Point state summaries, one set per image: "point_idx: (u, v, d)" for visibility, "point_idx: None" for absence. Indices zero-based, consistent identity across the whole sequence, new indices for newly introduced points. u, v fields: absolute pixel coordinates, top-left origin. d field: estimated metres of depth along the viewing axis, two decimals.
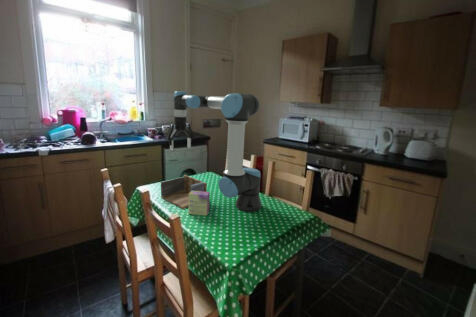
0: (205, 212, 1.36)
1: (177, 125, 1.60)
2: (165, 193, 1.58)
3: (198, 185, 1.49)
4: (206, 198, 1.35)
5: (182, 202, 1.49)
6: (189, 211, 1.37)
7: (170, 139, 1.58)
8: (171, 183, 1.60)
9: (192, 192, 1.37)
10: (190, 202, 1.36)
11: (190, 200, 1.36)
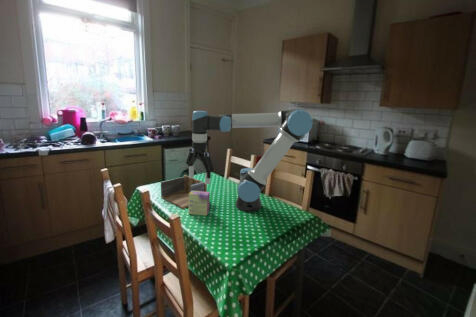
0: (205, 212, 1.36)
1: (194, 151, 1.33)
2: (165, 193, 1.58)
3: (198, 185, 1.49)
4: (206, 198, 1.35)
5: (182, 202, 1.49)
6: (189, 211, 1.37)
7: (188, 164, 1.38)
8: (171, 183, 1.60)
9: (192, 192, 1.37)
10: (190, 202, 1.36)
11: (190, 200, 1.36)
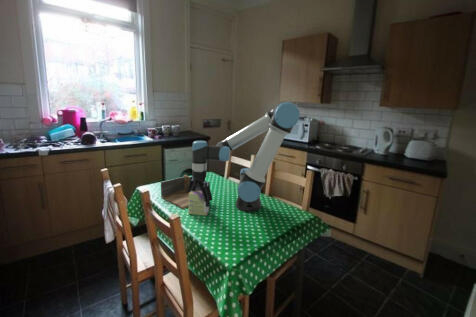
0: (205, 212, 1.36)
1: (194, 179, 1.37)
2: (165, 193, 1.58)
3: None
4: None
5: (182, 202, 1.49)
6: (189, 211, 1.37)
7: None
8: (171, 183, 1.60)
9: (192, 192, 1.37)
10: (190, 202, 1.36)
11: (190, 200, 1.36)
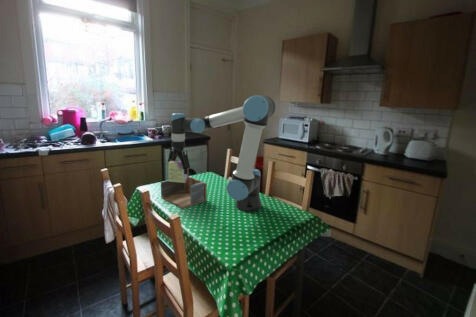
0: None
1: (173, 149, 1.48)
2: (165, 193, 1.58)
3: (198, 185, 1.49)
4: None
5: (182, 202, 1.49)
6: (169, 179, 1.49)
7: None
8: (171, 183, 1.60)
9: (172, 161, 1.49)
10: (169, 170, 1.48)
11: (170, 168, 1.47)
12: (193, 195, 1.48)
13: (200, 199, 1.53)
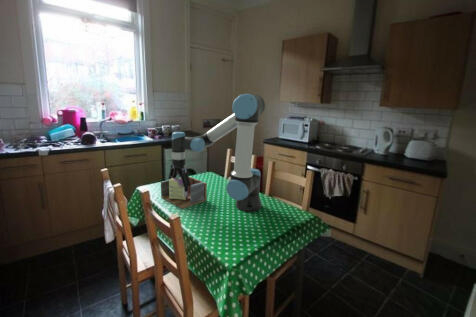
0: (184, 197, 1.51)
1: (174, 166, 1.51)
2: (165, 193, 1.58)
3: (198, 185, 1.49)
4: None
5: (182, 202, 1.49)
6: (170, 196, 1.51)
7: None
8: None
9: (172, 178, 1.51)
10: (170, 187, 1.50)
11: (170, 186, 1.50)
12: (193, 195, 1.48)
13: (200, 199, 1.53)
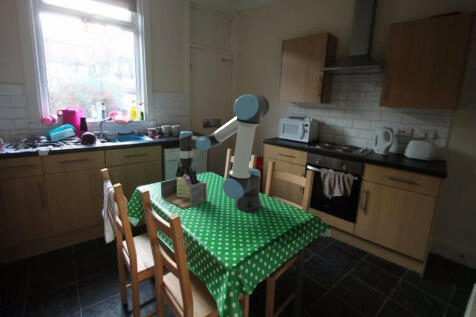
0: None
1: (181, 165, 1.55)
2: (165, 193, 1.58)
3: (198, 185, 1.49)
4: None
5: (182, 202, 1.49)
6: (177, 194, 1.56)
7: (177, 176, 1.60)
8: (171, 183, 1.60)
9: (180, 177, 1.56)
10: (178, 186, 1.54)
11: (178, 184, 1.54)
12: (193, 195, 1.48)
13: (200, 199, 1.53)
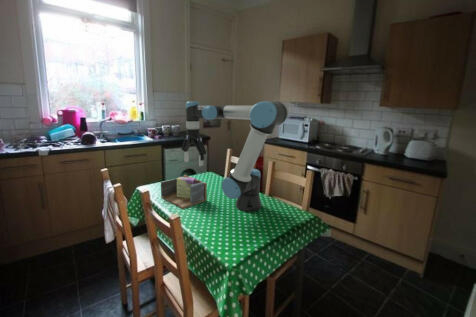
0: None
1: (188, 137, 1.51)
2: (165, 193, 1.58)
3: (198, 185, 1.49)
4: (192, 183, 1.53)
5: (182, 202, 1.49)
6: (177, 194, 1.56)
7: (183, 150, 1.56)
8: (171, 183, 1.60)
9: (180, 178, 1.55)
10: (178, 186, 1.54)
11: (178, 185, 1.54)
12: (193, 195, 1.48)
13: (200, 199, 1.53)
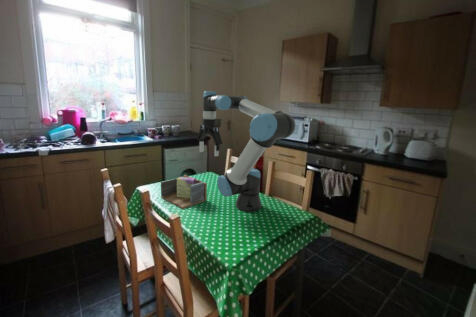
0: None
1: (204, 127, 1.51)
2: (165, 193, 1.58)
3: (198, 185, 1.49)
4: (192, 183, 1.53)
5: (182, 202, 1.49)
6: (177, 194, 1.56)
7: None
8: (171, 183, 1.60)
9: (180, 178, 1.55)
10: (178, 186, 1.54)
11: (178, 185, 1.54)
12: (193, 195, 1.48)
13: (200, 199, 1.53)
